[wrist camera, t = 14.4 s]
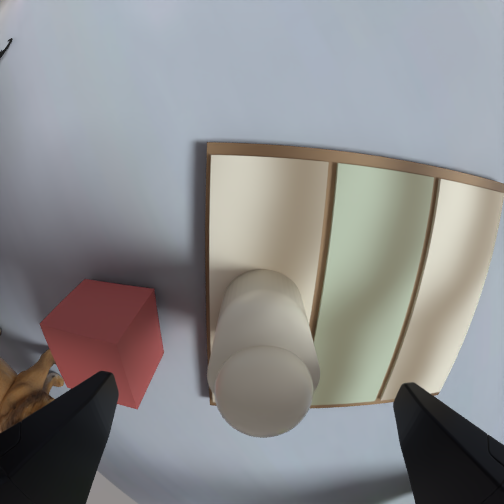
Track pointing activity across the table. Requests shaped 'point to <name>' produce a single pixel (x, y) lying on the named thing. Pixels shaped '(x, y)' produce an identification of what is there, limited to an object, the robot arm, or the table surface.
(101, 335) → the die
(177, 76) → the table surface
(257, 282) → the pawn
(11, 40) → the creature
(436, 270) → the board
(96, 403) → the robot arm
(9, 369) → the lion figurine
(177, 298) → the table surface
